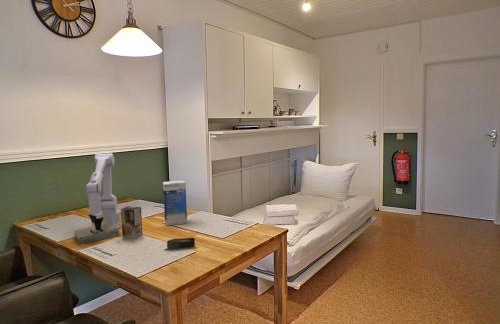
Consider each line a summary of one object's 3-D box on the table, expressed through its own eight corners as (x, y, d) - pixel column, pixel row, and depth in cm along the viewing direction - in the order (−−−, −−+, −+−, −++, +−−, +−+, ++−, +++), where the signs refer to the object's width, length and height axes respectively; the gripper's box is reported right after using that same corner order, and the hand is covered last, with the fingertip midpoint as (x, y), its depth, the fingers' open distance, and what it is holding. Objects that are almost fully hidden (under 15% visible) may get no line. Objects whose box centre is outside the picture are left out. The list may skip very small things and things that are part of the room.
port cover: (117, 225, 198) (116, 219, 198) (121, 228, 192) (120, 223, 191) (103, 227, 194) (103, 222, 193) (106, 231, 187) (106, 225, 187)
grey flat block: (112, 229, 201) (112, 223, 201) (118, 236, 190) (118, 229, 190) (74, 236, 190) (74, 230, 189) (79, 244, 178) (78, 237, 178)
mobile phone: (194, 236, 174) (163, 239, 170) (195, 238, 172) (164, 241, 167) (194, 245, 175) (164, 249, 170) (195, 247, 172) (164, 251, 168)
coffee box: (143, 235, 191) (141, 206, 189) (135, 239, 185) (134, 209, 183) (129, 233, 194) (127, 205, 192) (121, 237, 188) (120, 208, 186)
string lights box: (185, 220, 218) (184, 180, 215) (187, 223, 211) (186, 182, 208) (164, 222, 214) (162, 181, 211) (165, 226, 207) (163, 183, 204)
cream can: (100, 231, 191) (99, 219, 190) (100, 233, 187) (99, 221, 186) (92, 232, 189) (91, 220, 188) (92, 235, 185) (91, 222, 185)
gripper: (84, 202, 190) (86, 226, 192) (89, 208, 178) (91, 233, 180) (98, 200, 194) (99, 224, 196) (104, 205, 182) (105, 230, 184)
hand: (96, 228), depth 188 cm, fingers open, 7 cm apart
